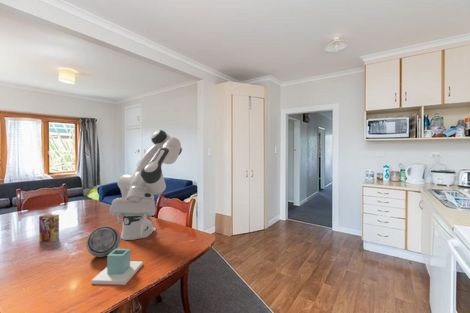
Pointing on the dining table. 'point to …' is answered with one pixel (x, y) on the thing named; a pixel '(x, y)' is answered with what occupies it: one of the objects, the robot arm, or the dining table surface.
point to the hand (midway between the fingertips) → (130, 222)
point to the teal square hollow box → (118, 261)
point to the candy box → (48, 228)
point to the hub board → (117, 275)
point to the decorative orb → (103, 241)
